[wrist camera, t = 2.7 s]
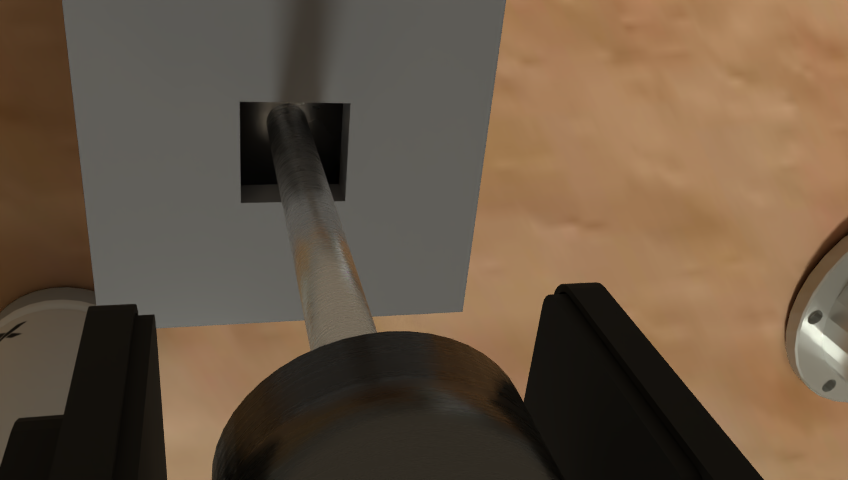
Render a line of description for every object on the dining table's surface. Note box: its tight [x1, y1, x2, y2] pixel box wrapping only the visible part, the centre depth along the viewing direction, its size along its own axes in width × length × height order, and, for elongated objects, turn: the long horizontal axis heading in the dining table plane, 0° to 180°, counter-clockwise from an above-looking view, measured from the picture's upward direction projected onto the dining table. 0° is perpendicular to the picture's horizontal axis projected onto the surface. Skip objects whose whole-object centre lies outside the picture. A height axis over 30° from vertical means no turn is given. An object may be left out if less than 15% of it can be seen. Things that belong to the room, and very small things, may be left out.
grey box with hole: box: [62, 0, 506, 328], centre depth 23 cm, size 9×9×13 cm
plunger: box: [212, 102, 565, 480], centre depth 14 cm, size 6×6×15 cm
